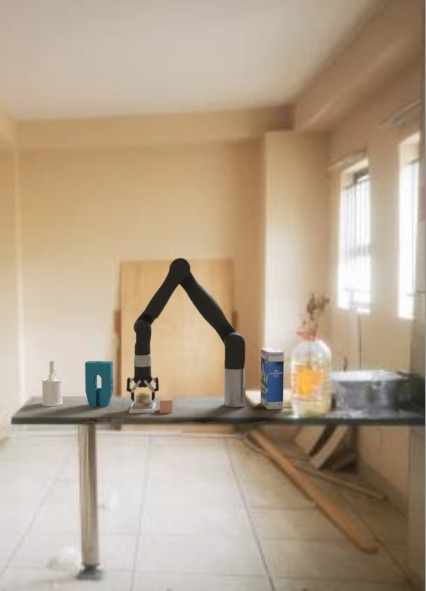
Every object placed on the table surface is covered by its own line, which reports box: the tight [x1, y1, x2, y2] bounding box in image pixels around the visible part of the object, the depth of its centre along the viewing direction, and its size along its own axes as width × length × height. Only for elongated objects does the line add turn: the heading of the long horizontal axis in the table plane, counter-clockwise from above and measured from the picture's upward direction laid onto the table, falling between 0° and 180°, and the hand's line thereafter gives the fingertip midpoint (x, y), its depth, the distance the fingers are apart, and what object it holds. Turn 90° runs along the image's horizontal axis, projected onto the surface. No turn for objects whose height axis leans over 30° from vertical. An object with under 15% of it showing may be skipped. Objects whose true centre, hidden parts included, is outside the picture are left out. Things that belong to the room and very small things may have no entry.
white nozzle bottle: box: [41, 360, 64, 408], centre depth 241 cm, size 10×9×20 cm
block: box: [84, 360, 114, 408], centre depth 239 cm, size 12×5×20 cm, turn 85°
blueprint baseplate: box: [128, 401, 157, 414], centre depth 233 cm, size 11×13×2 cm
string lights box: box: [260, 347, 285, 410], centre depth 238 cm, size 13×8×26 cm, turn 10°
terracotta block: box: [159, 396, 174, 414], centre depth 229 cm, size 6×6×6 cm
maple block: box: [135, 392, 151, 407], centre depth 233 cm, size 6×6×6 cm
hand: (142, 400), depth 233 cm, fingers open, 8 cm apart
